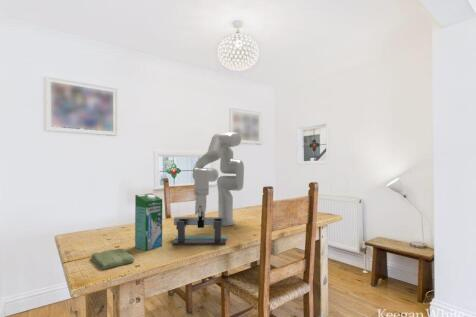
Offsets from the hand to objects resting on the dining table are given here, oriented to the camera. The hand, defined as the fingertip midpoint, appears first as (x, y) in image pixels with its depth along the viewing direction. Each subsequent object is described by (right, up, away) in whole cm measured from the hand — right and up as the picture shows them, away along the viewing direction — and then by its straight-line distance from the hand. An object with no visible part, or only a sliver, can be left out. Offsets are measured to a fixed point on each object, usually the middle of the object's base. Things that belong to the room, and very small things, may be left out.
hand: (201, 226), depth 139 cm
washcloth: (-33, -7, -30) cm, 45 cm away
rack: (0, -7, -7) cm, 10 cm away
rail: (0, +1, 0) cm, 1 cm away
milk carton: (-24, -7, -12) cm, 27 cm away
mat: (0, -7, 0) cm, 7 cm away
